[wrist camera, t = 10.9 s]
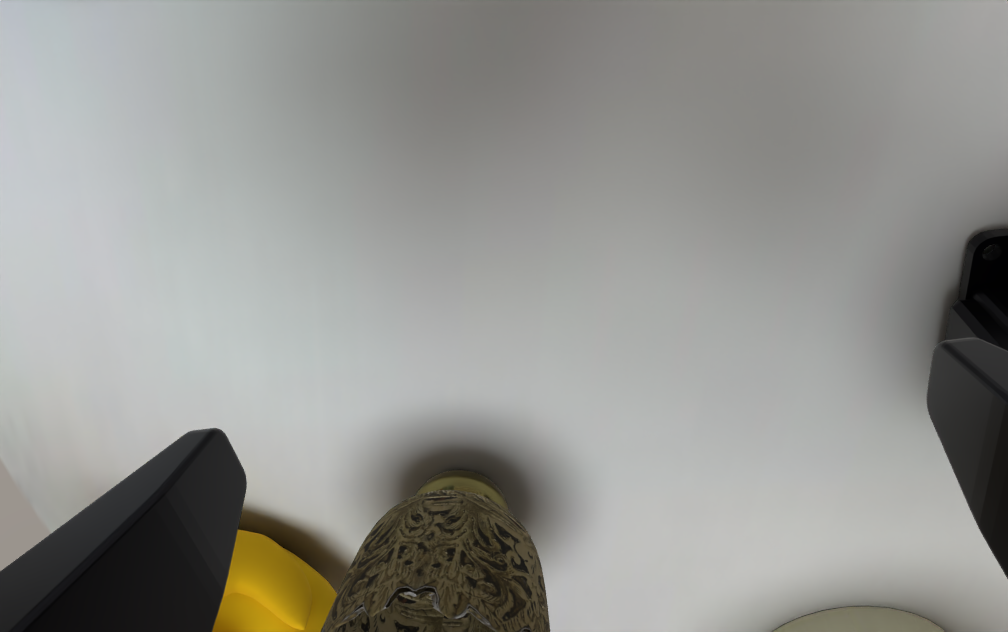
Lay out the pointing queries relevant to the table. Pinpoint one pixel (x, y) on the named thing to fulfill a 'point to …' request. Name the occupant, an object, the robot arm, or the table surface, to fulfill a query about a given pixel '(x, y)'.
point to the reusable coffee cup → (860, 621)
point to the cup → (445, 566)
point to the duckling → (271, 590)
